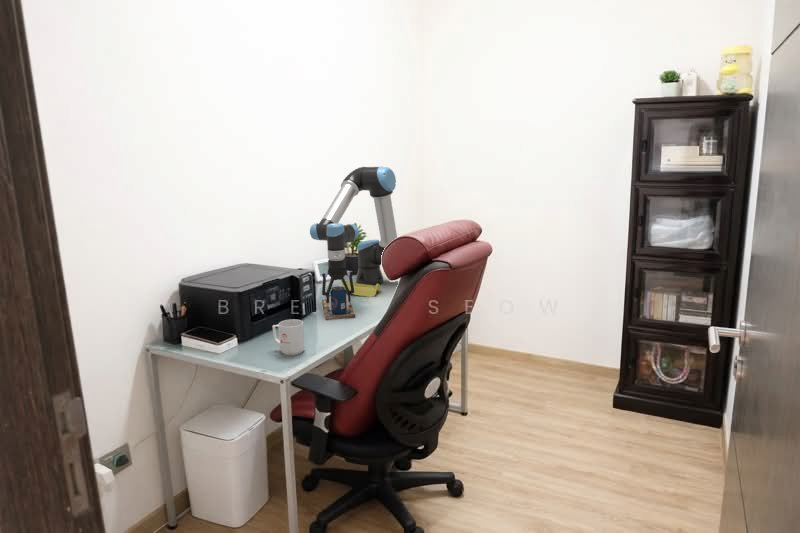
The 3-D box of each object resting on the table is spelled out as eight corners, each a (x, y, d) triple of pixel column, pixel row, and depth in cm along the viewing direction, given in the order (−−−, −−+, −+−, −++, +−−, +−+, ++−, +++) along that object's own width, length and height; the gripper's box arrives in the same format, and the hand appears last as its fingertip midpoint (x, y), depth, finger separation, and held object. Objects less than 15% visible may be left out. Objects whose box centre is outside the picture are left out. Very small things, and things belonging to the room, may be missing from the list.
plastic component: (381, 286, 284) (377, 282, 274) (379, 300, 282) (374, 297, 273) (345, 282, 288) (339, 278, 279) (343, 295, 287) (337, 292, 277)
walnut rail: (322, 301, 267) (322, 299, 267) (348, 299, 269) (348, 297, 269) (325, 320, 239) (325, 317, 239) (355, 317, 242) (355, 315, 241)
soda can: (328, 313, 248) (327, 287, 245) (341, 310, 252) (340, 285, 250) (337, 317, 243) (335, 290, 240) (350, 313, 247) (348, 288, 244)
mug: (309, 348, 206) (307, 320, 204) (297, 357, 198) (295, 328, 196) (281, 345, 210) (279, 317, 208) (268, 353, 202) (266, 325, 200)
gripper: (314, 262, 237) (317, 313, 242) (360, 259, 240) (361, 309, 245) (313, 258, 244) (316, 308, 249) (358, 256, 247) (359, 305, 252)
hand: (338, 308), depth 247 cm, fingers closed on soda can, 7 cm apart
